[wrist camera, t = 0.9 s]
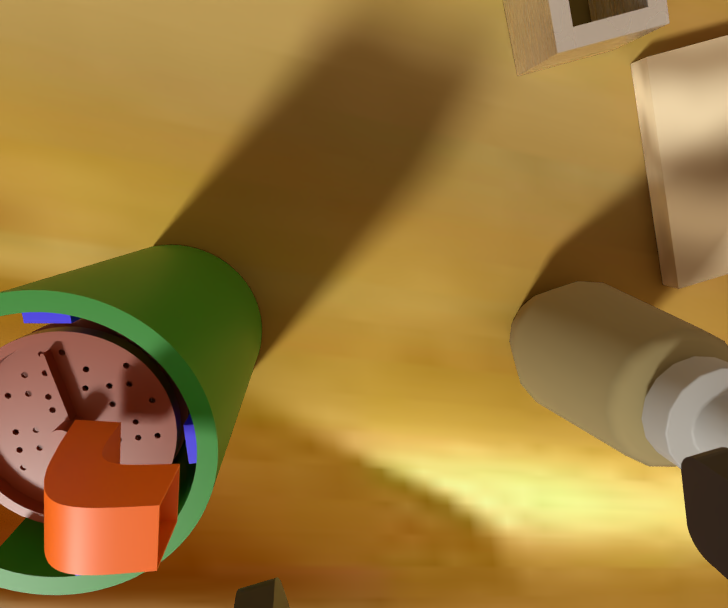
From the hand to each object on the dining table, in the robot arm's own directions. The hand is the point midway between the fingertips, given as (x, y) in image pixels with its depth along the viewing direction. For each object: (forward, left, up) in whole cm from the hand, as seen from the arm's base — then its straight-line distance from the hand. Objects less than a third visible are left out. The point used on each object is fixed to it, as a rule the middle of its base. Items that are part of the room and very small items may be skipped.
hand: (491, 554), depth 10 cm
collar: (-14, +16, -23) cm, 31 cm away
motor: (-2, -10, -23) cm, 26 cm away
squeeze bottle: (+5, +12, -23) cm, 27 cm away
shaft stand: (-3, +26, -23) cm, 35 cm away
